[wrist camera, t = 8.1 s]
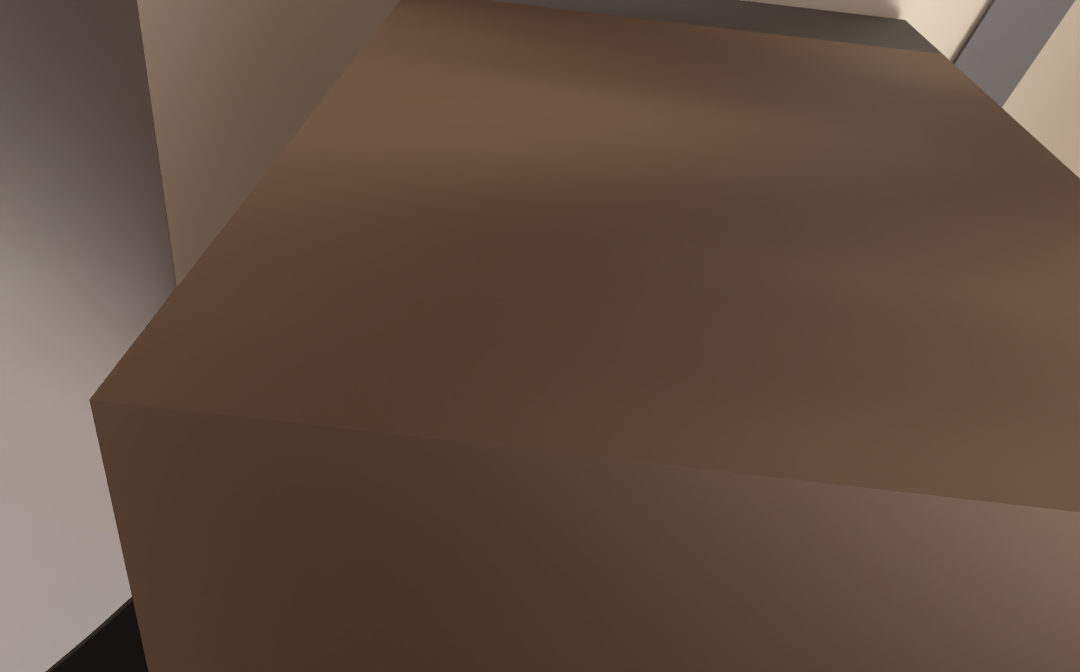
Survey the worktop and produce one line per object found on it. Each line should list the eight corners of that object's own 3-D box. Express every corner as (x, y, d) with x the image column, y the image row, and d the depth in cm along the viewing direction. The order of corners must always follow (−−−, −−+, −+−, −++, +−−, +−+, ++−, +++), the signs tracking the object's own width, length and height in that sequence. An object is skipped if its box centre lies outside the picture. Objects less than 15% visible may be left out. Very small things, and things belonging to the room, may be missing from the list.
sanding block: (905, 19, 8) (1499, 561, 3) (710, 640, 12) (790, 1286, 7) (428, -36, 8) (88, 400, 3) (408, 606, 12) (269, 1232, 7)
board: (2435, -519, 6) (2736, -562, 5) (1171, 849, 16) (1205, 912, 15) (91, -824, 6) (3, -924, 5) (268, 759, 16) (249, 819, 15)
